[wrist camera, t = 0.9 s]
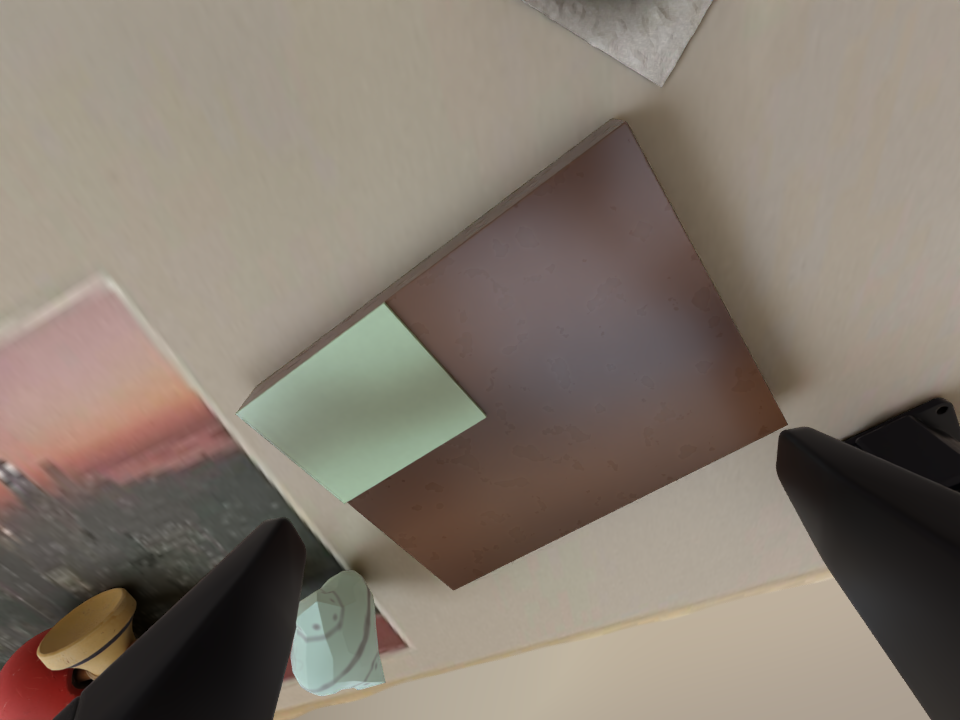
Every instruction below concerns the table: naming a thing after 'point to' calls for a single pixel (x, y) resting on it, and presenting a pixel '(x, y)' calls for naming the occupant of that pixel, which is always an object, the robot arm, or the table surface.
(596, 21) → the condiment
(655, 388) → the walnut board
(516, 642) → the table surface
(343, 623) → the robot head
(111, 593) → the kendama
